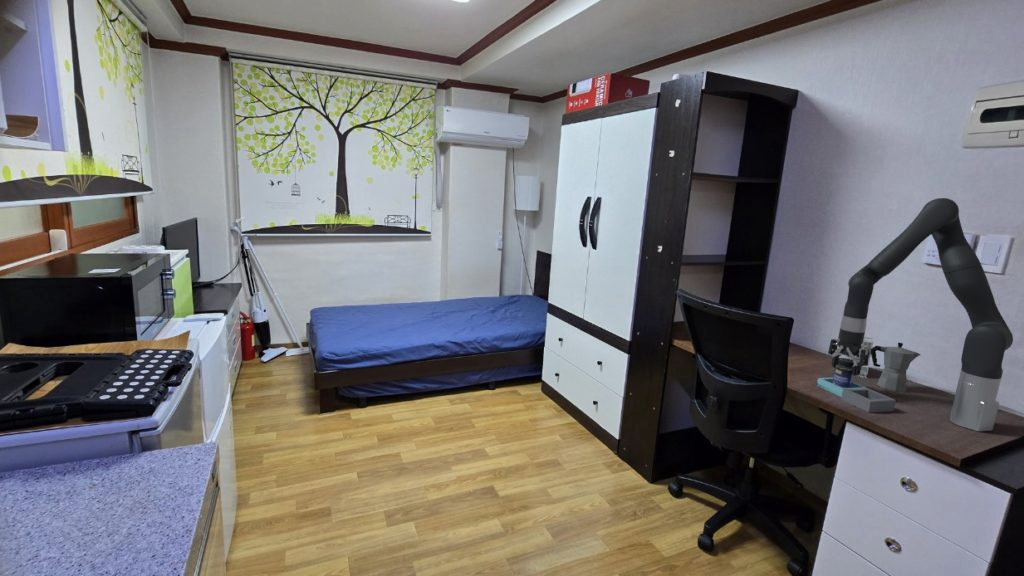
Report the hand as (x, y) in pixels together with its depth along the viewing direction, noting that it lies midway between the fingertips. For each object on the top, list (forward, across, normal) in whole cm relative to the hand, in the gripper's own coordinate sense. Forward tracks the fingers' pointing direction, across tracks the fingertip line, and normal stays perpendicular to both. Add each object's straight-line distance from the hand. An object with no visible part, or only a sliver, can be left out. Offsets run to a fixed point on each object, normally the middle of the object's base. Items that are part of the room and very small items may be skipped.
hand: (844, 371), depth 177 cm
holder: (+8, -12, +2) cm, 15 cm away
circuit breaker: (+8, +18, -26) cm, 33 cm away
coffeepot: (+8, +2, -24) cm, 25 cm away
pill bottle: (+7, 0, 0) cm, 7 cm away
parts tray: (+8, 0, 0) cm, 8 cm away
